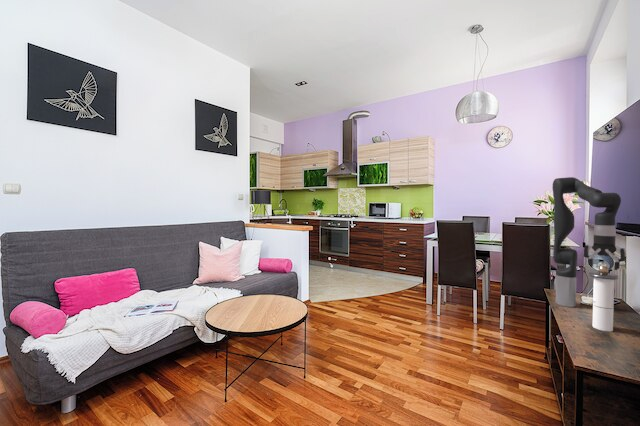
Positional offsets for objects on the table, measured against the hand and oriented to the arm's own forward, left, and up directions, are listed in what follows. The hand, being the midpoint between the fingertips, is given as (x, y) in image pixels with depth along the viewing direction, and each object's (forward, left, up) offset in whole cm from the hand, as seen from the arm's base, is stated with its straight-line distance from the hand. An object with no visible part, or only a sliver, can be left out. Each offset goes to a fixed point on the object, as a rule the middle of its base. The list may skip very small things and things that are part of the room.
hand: (603, 268), depth 140 cm
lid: (0, 0, -4) cm, 4 cm away
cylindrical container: (0, 0, -29) cm, 29 cm away
